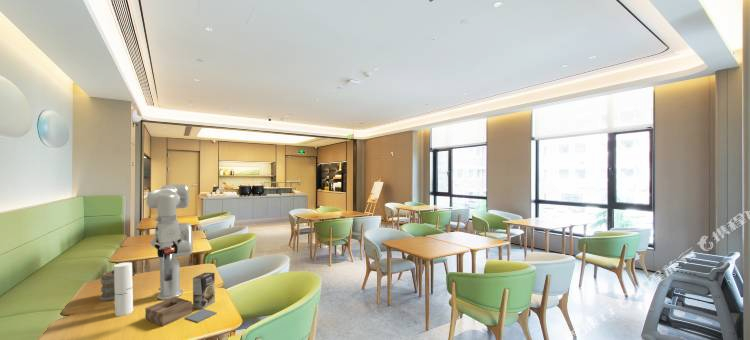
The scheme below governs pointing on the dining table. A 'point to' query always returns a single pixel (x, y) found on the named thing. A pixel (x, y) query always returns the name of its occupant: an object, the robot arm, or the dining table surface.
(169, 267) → the red topped grey cylinder
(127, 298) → the cylindrical container
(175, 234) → the robot arm
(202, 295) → the coffee box
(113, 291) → the tankard
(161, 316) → the block
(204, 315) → the mat
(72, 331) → the dining table surface
